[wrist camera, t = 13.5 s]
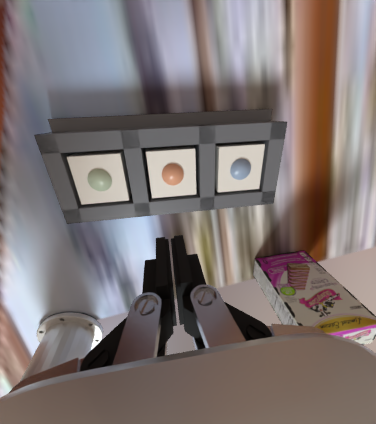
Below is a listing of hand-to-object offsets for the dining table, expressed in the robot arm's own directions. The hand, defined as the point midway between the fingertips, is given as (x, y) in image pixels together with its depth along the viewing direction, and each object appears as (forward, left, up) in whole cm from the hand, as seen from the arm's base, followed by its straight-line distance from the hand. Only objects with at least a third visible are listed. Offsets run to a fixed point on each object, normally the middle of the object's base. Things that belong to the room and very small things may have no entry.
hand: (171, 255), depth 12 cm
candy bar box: (-21, -22, -20) cm, 36 cm away
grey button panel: (+1, -1, -19) cm, 20 cm away
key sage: (+1, +8, -17) cm, 19 cm away
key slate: (+1, -10, -18) cm, 20 cm away
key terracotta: (+1, -1, -17) cm, 18 cm away
